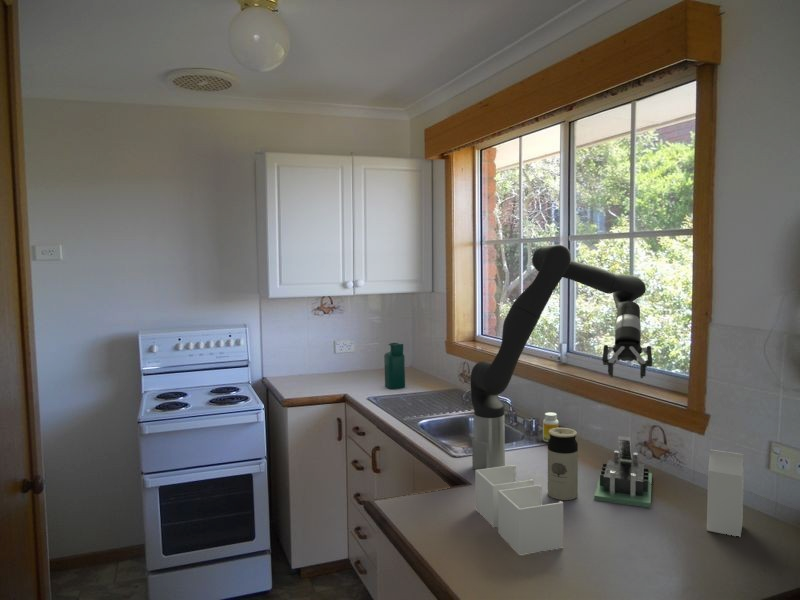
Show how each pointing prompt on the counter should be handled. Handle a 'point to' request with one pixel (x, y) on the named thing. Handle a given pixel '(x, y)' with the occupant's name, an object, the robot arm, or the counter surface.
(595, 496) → the circuit board
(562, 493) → the travel mug
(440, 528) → the counter surface
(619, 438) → the retention strap
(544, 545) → the white divided organizer
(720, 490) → the milk carton
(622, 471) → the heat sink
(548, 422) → the supplement bottle
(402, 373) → the green bottle
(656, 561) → the counter surface
